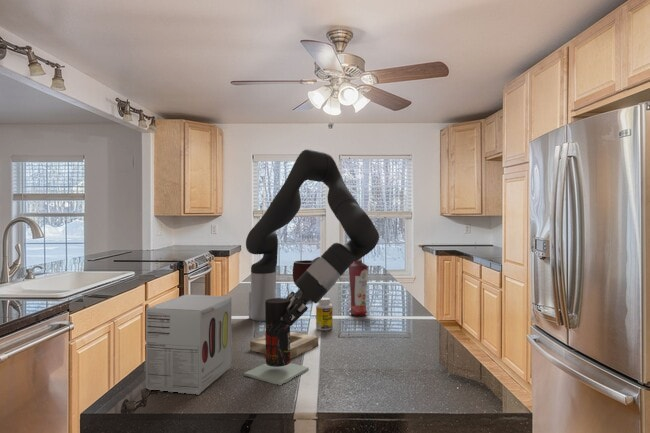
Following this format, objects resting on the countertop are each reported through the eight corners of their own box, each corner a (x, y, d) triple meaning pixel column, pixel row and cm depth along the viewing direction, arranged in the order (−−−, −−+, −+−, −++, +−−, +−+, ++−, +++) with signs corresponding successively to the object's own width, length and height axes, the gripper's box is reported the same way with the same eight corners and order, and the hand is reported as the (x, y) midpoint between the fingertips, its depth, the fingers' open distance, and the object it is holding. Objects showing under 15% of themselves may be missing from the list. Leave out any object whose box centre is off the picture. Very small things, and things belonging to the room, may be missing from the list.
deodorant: (266, 358, 101) (266, 298, 101) (290, 357, 101) (289, 297, 101) (264, 367, 95) (264, 303, 95) (290, 366, 95) (289, 302, 95)
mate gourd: (286, 297, 190) (286, 255, 190) (309, 294, 199) (308, 253, 199) (307, 303, 178) (307, 257, 178) (330, 298, 188) (330, 255, 188)
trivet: (244, 375, 96) (244, 372, 96) (273, 361, 105) (273, 359, 105) (280, 385, 90) (280, 382, 90) (308, 369, 100) (308, 367, 100)
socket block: (250, 350, 114) (250, 341, 114) (281, 337, 126) (281, 329, 126) (289, 359, 107) (289, 349, 107) (318, 345, 119) (318, 336, 119)
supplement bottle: (321, 331, 133) (321, 300, 133) (313, 328, 137) (313, 298, 138) (335, 329, 136) (335, 299, 136) (326, 325, 141) (326, 296, 141)
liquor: (358, 318, 150) (358, 243, 151) (344, 315, 156) (344, 242, 156) (371, 315, 155) (371, 242, 155) (358, 312, 161) (357, 241, 161)
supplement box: (200, 396, 85) (200, 310, 85) (143, 391, 87) (144, 308, 87) (233, 366, 102) (233, 295, 102) (185, 363, 104) (185, 293, 104)
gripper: (302, 266, 107) (257, 313, 104) (313, 273, 93) (261, 328, 90) (322, 285, 108) (278, 332, 105) (335, 295, 94) (285, 350, 91)
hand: (270, 330), depth 98 cm, fingers closed on deodorant, 6 cm apart
